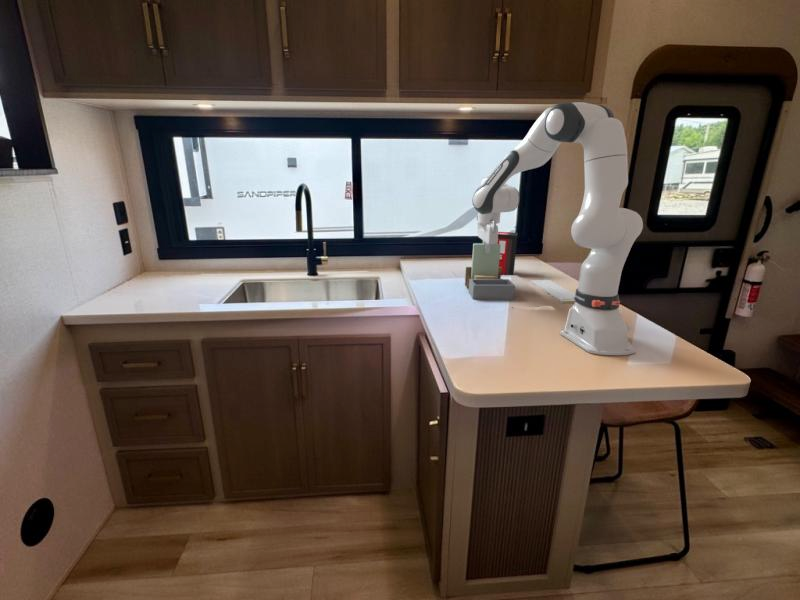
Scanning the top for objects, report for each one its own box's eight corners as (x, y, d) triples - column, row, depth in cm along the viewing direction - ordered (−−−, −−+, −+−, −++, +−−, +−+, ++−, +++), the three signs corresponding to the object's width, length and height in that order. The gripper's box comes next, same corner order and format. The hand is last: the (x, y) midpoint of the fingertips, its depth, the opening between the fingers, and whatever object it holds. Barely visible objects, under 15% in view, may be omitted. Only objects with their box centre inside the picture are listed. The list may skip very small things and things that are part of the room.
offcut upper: (494, 283, 169) (495, 276, 168) (475, 283, 168) (475, 276, 168) (492, 281, 172) (493, 274, 171) (473, 281, 172) (474, 274, 171)
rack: (505, 295, 169) (507, 272, 166) (468, 295, 169) (470, 272, 166) (498, 288, 179) (500, 266, 176) (464, 288, 178) (465, 266, 176)
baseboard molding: (555, 283, 191) (530, 283, 190) (556, 276, 190) (530, 277, 189) (591, 304, 161) (561, 305, 160) (592, 297, 160) (562, 297, 159)
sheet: (496, 286, 175) (500, 244, 169) (471, 286, 174) (474, 244, 169) (496, 285, 176) (499, 243, 171) (470, 285, 176) (473, 243, 170)
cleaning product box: (478, 274, 202) (481, 233, 196) (480, 270, 210) (483, 231, 204) (513, 277, 198) (517, 235, 191) (513, 272, 206) (517, 232, 200)
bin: (513, 302, 160) (515, 285, 158) (472, 302, 159) (473, 285, 157) (507, 295, 168) (508, 279, 166) (468, 295, 168) (469, 279, 166)
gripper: (503, 221, 157) (500, 257, 161) (490, 215, 176) (488, 247, 180) (487, 221, 157) (484, 257, 161) (475, 215, 176) (473, 247, 180)
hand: (486, 252), depth 171 cm, fingers closed on sheet, 2 cm apart
